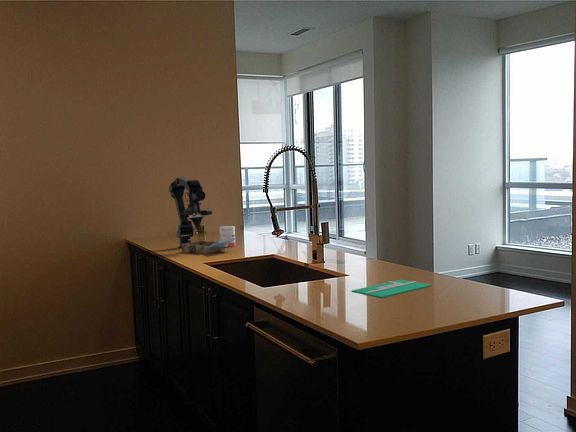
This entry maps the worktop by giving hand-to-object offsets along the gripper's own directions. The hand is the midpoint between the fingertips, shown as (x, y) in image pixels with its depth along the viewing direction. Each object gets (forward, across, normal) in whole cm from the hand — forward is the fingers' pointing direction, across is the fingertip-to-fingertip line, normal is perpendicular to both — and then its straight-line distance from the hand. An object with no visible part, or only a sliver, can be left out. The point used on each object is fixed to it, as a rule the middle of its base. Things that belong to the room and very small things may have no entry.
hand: (197, 229), depth 335 cm
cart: (+12, +2, -1) cm, 13 cm away
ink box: (+13, +7, +18) cm, 23 cm away
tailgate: (+12, +12, -3) cm, 17 cm away
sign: (+28, +130, -70) cm, 150 cm away
